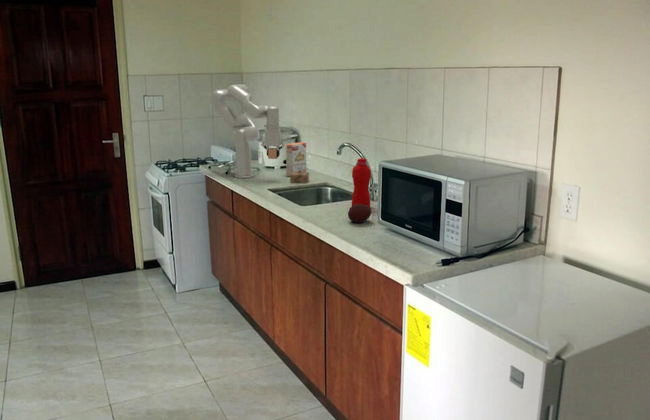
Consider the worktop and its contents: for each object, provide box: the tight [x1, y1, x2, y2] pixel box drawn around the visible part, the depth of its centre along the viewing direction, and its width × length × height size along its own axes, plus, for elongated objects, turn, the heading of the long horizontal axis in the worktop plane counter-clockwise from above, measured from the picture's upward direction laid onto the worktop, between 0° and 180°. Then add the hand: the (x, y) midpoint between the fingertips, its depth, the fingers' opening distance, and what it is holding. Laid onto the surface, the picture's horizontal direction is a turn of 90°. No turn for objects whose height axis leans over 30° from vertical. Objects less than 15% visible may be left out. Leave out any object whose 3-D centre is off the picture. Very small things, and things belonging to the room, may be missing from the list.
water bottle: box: [348, 157, 372, 209], centre depth 263 cm, size 9×11×25 cm
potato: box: [347, 204, 372, 224], centre depth 241 cm, size 12×11×8 cm
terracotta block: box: [267, 147, 279, 160], centre depth 326 cm, size 5×5×6 cm
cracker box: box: [285, 141, 307, 177], centre depth 346 cm, size 14×6×21 cm, turn 143°
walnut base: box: [289, 171, 310, 184], centre depth 328 cm, size 10×10×5 cm
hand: (273, 156), depth 327 cm, fingers closed on terracotta block, 5 cm apart
